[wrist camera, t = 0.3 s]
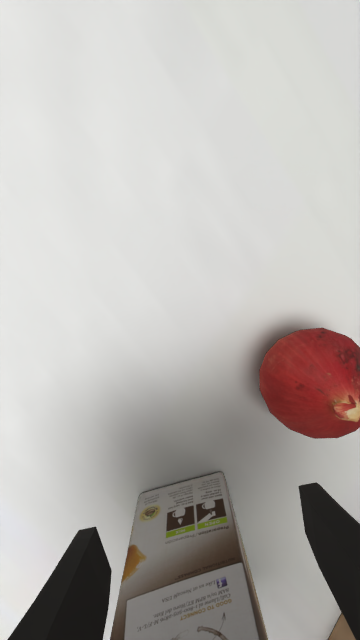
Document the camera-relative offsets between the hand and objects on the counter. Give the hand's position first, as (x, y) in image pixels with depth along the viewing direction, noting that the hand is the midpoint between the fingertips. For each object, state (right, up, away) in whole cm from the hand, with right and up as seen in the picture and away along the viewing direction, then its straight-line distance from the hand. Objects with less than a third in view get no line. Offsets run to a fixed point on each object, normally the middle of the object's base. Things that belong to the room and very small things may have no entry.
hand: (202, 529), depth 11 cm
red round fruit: (+7, +4, +10) cm, 13 cm away
